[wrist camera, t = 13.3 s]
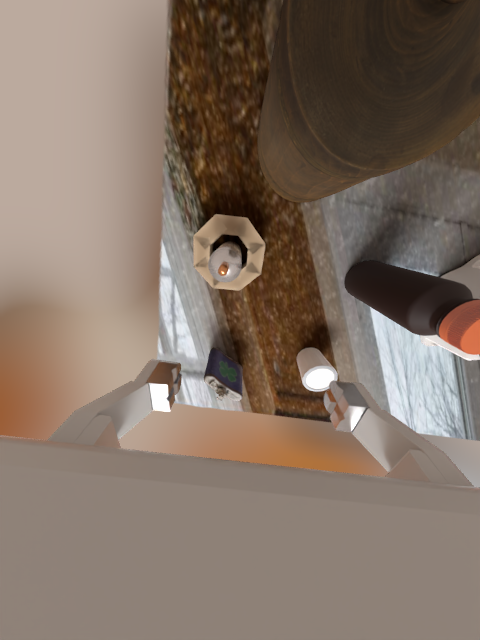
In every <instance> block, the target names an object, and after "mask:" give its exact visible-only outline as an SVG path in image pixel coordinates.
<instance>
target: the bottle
mask: <svg viewBox="0 0 480 640" xmlns="http://www.w3.org/2000/svg"><path fill="white" fill-rule="evenodd" d="M345 288H346V290H347V291H348V293H350V294H351V295H352V296H354V297H355V298H357V299H359V300H360V301H362V302H364V303H365V304H367V305H368V306H370V307H372V308H373V309H375V310H376V311H378V312H380V313H381V314H383V315H385V316H386V317H388V318H389V319H391V320H393V321H394V322H396V323H398V324H399V325H401V326H402V327H404V328H406V329H407V330H409V331H410V332H412V333H414V334H418V335H421V336H433V335H437V336H438V337H440V338H441V339H443V340H444V341H445V342H447V343H449V344H450V345H452V346H454V347H456V348H458V349H459V350H461V351H463V352H465V353H467V354H472V355H475V354H476V355H477V354H478V355H479V354H480V299H473V296H472V292H471V290H470V289H469V288H468V287H467V286H466V285H464V284H462V283H459V282H455V281H452V280H448V279H444V278H440V277H436V276H432V275H428V274H424V273H420V272H416V271H412V270H408V269H404V268H400V267H396V266H392V265H388V264H384V263H380V262H376V261H373V260H369V261H363V262H360V263H358V264H357V265H355V266H353V268H352V269H351V270H350V271H349V272H348V274H347V276H346V279H345Z"/></svg>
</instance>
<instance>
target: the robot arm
mask: <svg viewBox="0 0 480 640" xmlns="http://www.w3.org/2000/svg"><path fill="white" fill-rule="evenodd" d="M440 278H444V279H448V280H452V281H455V282H459V283H462V284H464V285H466V286H467V287H468V288H469V289H470V290H471V292H472V296H473V299H480V255H478V256H476V257H475V258H473V259H472V260H470V261H469V262H468V263H466V264H465V265H464V266H462V267H460V268H458V269H456V270H453V271H451V272H449V273H447V274H445V275H443V276H441V277H440ZM420 339H421V343H422V344H424V345H426V346H441V347H443V348H445V349H447V350H449V351H450V352H452V353H454V354H456V355H458V356H460V357H462V358H464V359H467V360H480V354H479V355H478V354H477V355H476V354H475V355H472V354H467V353H465V352H463V351H461V350H459V349H458V348H456V347H454V346H452V345H450V344H449V343H447V342H445V341H444V340H443V339H441V338H440V337H438V336H437V335H433V336H421V335H420ZM180 370H181V364H180V363H177V362H170V361H163V360H154V359H151V360H150V361H149V362H148V363H147V365H146V366H145V367H144V369H143V370H142V371H141V373H140V374H139V375H138V377H137V378H136V379H135V381H134V382H133V381H130V382H129V383H127V384H125V385H123V386H121V387H119V388H117V389H115V390H113V391H112V392H110V393H108V394H106V395H104V396H102V397H100V398H98V399H96V400H95V401H93V402H91V403H89V404H87V405H85V406H83V407H81V408H79V409H78V410H76V411H74V412H73V413H72V415H70V417H69V418H68V419H67V420H66V421H65V422H64V423H63V424H62V425H61V426H60V427H59V428H58V429H57V430H56V431H55V432H54V433H53V434H52V436H51V437H50V438H49V439H48V440H38V439H28V438H20V437H10V436H1V435H0V640H480V487H474V486H473V485H472V484H471V482H469V480H468V479H467V478H466V477H465V476H464V474H463V473H462V472H461V471H460V470H459V469H458V468H457V466H456V465H455V464H454V463H453V462H452V461H451V459H450V458H449V457H448V456H447V455H446V454H445V453H444V452H443V451H442V450H440V449H439V448H437V447H436V446H435V445H433V444H432V443H430V442H429V441H427V440H426V439H425V438H423V437H422V436H420V435H419V434H418V433H416V432H415V431H413V430H412V429H411V428H409V427H408V426H406V425H405V424H403V423H402V422H401V421H399V420H398V419H396V418H395V417H394V416H392V415H391V414H389V413H388V412H387V411H385V410H381V408H380V407H379V406H378V404H377V403H376V402H375V400H374V399H373V397H372V396H371V395H370V393H369V392H368V391H367V389H366V388H365V387H364V385H362V384H361V383H352V382H351V383H350V382H341V381H331V382H330V384H329V388H330V389H329V390H328V391H326V393H325V395H324V404H325V407H326V410H327V411H328V412H329V413H330V414H331V416H330V419H331V421H332V424H333V426H334V428H335V430H338V431H346V432H352V434H353V435H354V436H355V437H356V438H357V439H358V440H359V441H360V442H361V444H363V446H364V447H365V448H366V449H367V450H368V451H369V452H370V453H371V454H372V455H373V456H374V457H375V459H377V461H378V462H379V463H380V464H381V465H382V466H383V467H384V468H385V469H386V470H387V471H388V472H389V473H388V474H387V475H386V476H385V477H379V476H370V475H361V474H351V473H341V472H333V471H323V470H314V469H305V468H296V467H286V466H277V465H267V464H258V463H249V462H240V461H230V460H221V459H212V458H203V457H194V456H184V455H176V454H166V453H157V452H148V451H139V450H130V449H121V447H120V444H119V441H118V440H119V439H120V438H122V437H123V436H124V435H125V434H126V433H127V432H129V431H130V430H131V429H132V428H133V427H134V426H136V425H137V424H138V423H139V422H140V421H141V420H142V419H144V418H145V417H146V416H147V415H149V414H150V413H151V412H152V410H157V411H170V410H171V407H172V405H173V403H174V401H175V396H174V395H176V394H177V393H178V391H179V389H180V385H181V374H180V373H179V372H180Z"/></svg>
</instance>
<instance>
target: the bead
mask: <svg viewBox="0 0 480 640" xmlns="http://www.w3.org/2000/svg"><path fill="white" fill-rule="evenodd" d="M223 234H227V235H236V236H239V237H240V239H241V240H242V241H243V243H244V244H245V245H246V247H247V248H248V250H247V259H246V262H245V263H244V264H243V265H242V268H241V272H240V274H239V276H238V277H237V278H236V279H235V280H233V281H231V282H220V281H218V280H216V279H215V278H214V277H213V276H212V275H211V273H210V271H209V268H208V261H209V258H210V256H211V255H212V253H213V244H214V242H215V241H216V240H217V239H219V238H220V237H221V236H222V235H223ZM264 251H265V243H264V241H263V240H262V238H261V237H260V235H259V234H258V233H257V231H256V230H255V228H254V227H253V225H252V224H251V223H250V221H249V220H248V218H245V217H237V216H228V215H220V214H215V215H214V216H213V217H212V218H211V219H210V220H209V221H208V222H207V223H206V224H205V225H204V226H203V227H202V228H201V229H200V230H199V231H198V232H197V233H196V234H195V235H194V267H195V268H196V270H197V271H198V272H199V273H200V274H201V275H202V276H203V277H204V278H205V280H206V281H207V282H208V283H209V284H210V285H211V286H212V287H213V288H220V289H229V290H239V291H240V290H241V289H242V288H243V287H245V286H246V285H247V284H248V283H250V282H251V281H252V280H254V279H255V278H256V277H257V276H259V275H260V274H261V270H262V264H263V257H264Z"/></svg>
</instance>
